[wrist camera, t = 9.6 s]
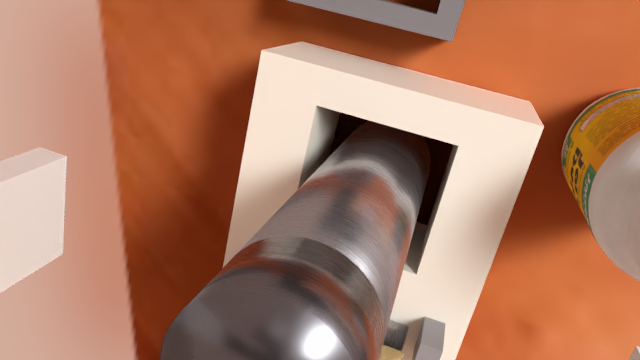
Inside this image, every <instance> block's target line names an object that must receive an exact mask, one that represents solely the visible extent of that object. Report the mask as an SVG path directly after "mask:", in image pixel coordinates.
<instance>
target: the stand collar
mask: <svg viewBox="0 0 640 360" xmlns="http://www.w3.org/2000/svg"><path fill="white" fill-rule="evenodd" d="M288 1H292V2H296V3H300V4H304V5H308V6H312V7H316V8H320V9H324V10H328V11H332V12H336V13H340V14H344V15H347V16H351V17H355V18H359V19H363V20H367V21H371V22H375V23H379V24H383V25H387V26H391V27H395V28H399V29H403V30H407V31H411V32H415V33H419V34H423V35H427V36H431V37H435V38H439V39H443V40H447V41H451V42H452V40H453V39H454V36H455V33H456V29H457V26H458V23H459V20H460V16H461V13H462V10H463V6H464V3H465V0H441V1H440V5H439V8H438V12H433V11H429V10H425V9H421V8H417V7H413V6H408V5H404V4H400V3H396V2H392V1H388V0H288Z"/></svg>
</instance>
